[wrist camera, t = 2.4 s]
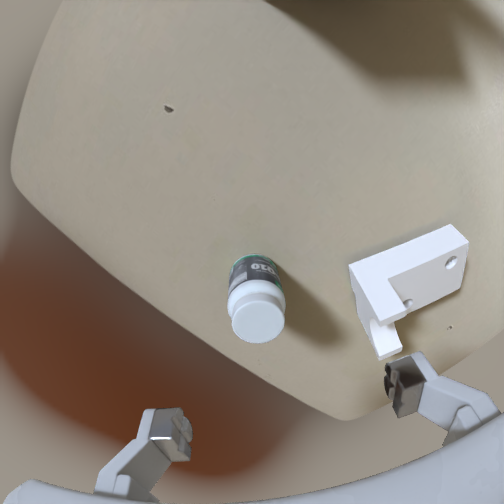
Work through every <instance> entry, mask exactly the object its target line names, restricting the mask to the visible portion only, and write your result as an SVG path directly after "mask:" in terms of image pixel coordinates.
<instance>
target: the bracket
mask: <svg viewBox="0 0 504 504" xmlns="http://www.w3.org/2000/svg"><path fill="white" fill-rule="evenodd" d="M468 247H469V241H468V240H467V239H466V238H465V237H464V236H463V235H462V234H461V233H460V232H459V231H458V230H457V229H455V228H454V227H453V226H452V225H451V224H449V225H447V226H444V227H442V228H440V229H437V230H435V231H432V232H430V233H428V234H425V235H423V236H420V237H418V238H415V239H413V240H411V241H408V242H406V243H403V244H401V245H398V246H396V247H393V248H391V249H388V250H386V251H383V252H380V253H378V254H375V255H373V256H370V257H368V258H365V259H362V260H360V261H357V262H355V263H352V264H349V271H350V278H351V285H352V289H353V291H354V293H355V297H356V306H357V314H358V317H359V319H360V321H361V323H362V325H363V327H364V329H365V331H366V333H367V335H368V337H369V339H370V342H371V344H372V346H373V348H374V350H375V352H376V355H377V357H378V359H379V361H380V360H382V359H385V358H387V357H389V356H392V355H394V354H396V353H398V352H401V351H402V344H401V342H400V340H399V337H398V335H397V332H396V328H395V324H394V321H396V320H398V319H401V318H403V317H405V316H406V314H408V313H410V312H412V311H415V310H417V309H419V308H421V307H423V306H425V305H427V304H429V303H432V302H434V301H436V300H438V299H440V298H442V297H444V296H446V295H448V294H450V293H452V292H454V291H455V290H457V289H459V288H460V287H461V282H462V278H463V273H464V268H465V263H466V258H467V253H468Z"/></svg>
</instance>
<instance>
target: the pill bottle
mask: <svg viewBox="0 0 504 504" xmlns="http://www.w3.org/2000/svg"><path fill="white" fill-rule="evenodd" d="M285 308H286V302H285V297H284V293H283V290H282V286H281V282H280V278H279V275H278V271H277V268H276V266H275V265H274V263H273V262H272V261H271V260H270V259H269V258H267V257H265V256H263V255H260V254H250V255H246V256H243V257H241V258H240V259H238V260H237V261H236V262H235V263H234V265H233V266H232V268H231V271H230V277H229V292H228V313H229V315H230V317H231V319H232V328H233V330H234V332H235V334H236V335H237V336H238V337H239V338H240V339H242V340H244V341H246V342H249V343H255V344H260V343H266V342H269V341H271V340H273V339H275V338H276V337H277V336H278V335H279V334H280V333H281V332H282V330H283V328H284V324H285V317H284V312H285Z"/></svg>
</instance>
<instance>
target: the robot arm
mask: <svg viewBox="0 0 504 504" xmlns="http://www.w3.org/2000/svg"><path fill="white" fill-rule="evenodd" d="M385 371H386V373H387V374H386V376H385V377H384V386H385V391H386V394H387V396H388V398H389V399H391V400H393V409H394V411H395V413H396V415H397V417H398V418H401V417H404V416H406V415H409V414H412V413H414V412H418V413H419V414H421V415H423V416H424V417H425V418H427V419H429V420H430V421H432V422H433V423H435V424H437V425H438V426H440V427H442V428H443V429H445V430H447V431H448V434H447V436H446V438H445V440H444V442H443V444H442V445H443V447H442V448H440V449H438V450H436V451H434V452H432V453H430V454H427V455H425V456H423V457H420V458H418V459H416V460H413V461H411V462H409V463H406V464H404V465H401V466H398V467H396V468H393V469H390V470H388V471H385V472H382V473H379V474H376V475H373V476H370V477H367V478H364V479H360V480H357V481H354V482H350V483H347V484H343V485H339V486H335V487H331V488H327V489H323V490H318V491H314V492H309V493H304V494H299V495H293V496H287V497H281V498H274V499H266V500H257V501H248V502H235V503H218V504H504V412H503V413H502V414H501V412H500V411H499V410H498V408H497V406H496V405H495V404H494V402H493V401H492V399H491V398H490V397H489V395H488V394H487V393H485V392H483V391H480V390H478V389H475V388H473V387H470V386H467V385H465V384H462V383H460V382H457V381H455V380H452V379H450V378H447V377H445V376H443V375H442V376H438V374H437V373H436V371H435V370H434V368H433V367H432V365H431V364H430V363H429V361H428V360H427V358H426V357H425V356H424V354H423V353H422V352H421V351H418V352H416V353H413V354H410V355H407V356H404V357H402V358H399V359H396V360H394V361H391V362H388V363H386V365H385ZM183 415H184V412H183V411H182V409H181V408H179V407H178V408H158V409H146V410H145V411H144V412H143V416H142V419H141V423H140V427H139V430H138V435H137V438H136V439H133V440H132V441H131V442H130V443H129V444H128V445H127V446H126V447H125V448H124V449H123V450H122V451H121V452H119V453H118V454H117V455H116V457H114V458H113V459H112V460H111V461H110V462H109V463H108V464H107V465H106V466H105V467H104V468H102V469H101V470H100V472H99V475H98V479H97V482H96V486H95V489H94V493H93V494H90V493H85V492H80V491H76V490H72V489H68V488H64V487H59V486H56V485H53V484H49V483H46V482H42V481H39V480H36V479H30V480H28V481H26V482H25V483H23V484H21V485H20V486H19V487H17V488H16V489H15V490H13V491H12V492H10V494H9V495H8V496H7V498H6V499H5V501H4V503H3V504H175V503H159V500H158V498H156V497H155V496H154V495H152V494H151V493H150V491H151V489H152V488H153V486H154V485H155V484H156V483H157V481H158V480H159V479H160V477H161V476H162V475H163V473H164V472H165V470H166V469H167V468H168V467H169V465H170V464H171V462H173V461H190V456H191V447H190V445H189V442H190V441H191V440H192V438H193V431H192V426H191V423H190V421H189V419H188V418H186V417H184V416H183Z"/></svg>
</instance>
